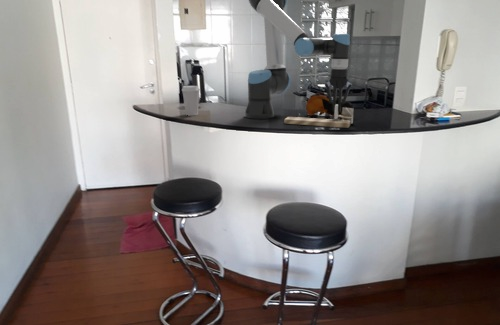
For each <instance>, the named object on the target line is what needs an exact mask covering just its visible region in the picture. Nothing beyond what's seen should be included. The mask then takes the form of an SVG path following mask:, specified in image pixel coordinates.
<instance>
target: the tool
mask: <svg viewBox="0 0 500 325" xmlns="http://www.w3.org/2000/svg"><path fill="white" fill-rule="evenodd" d="M338 98H339V96H336V104H337V105H338ZM332 101H333V99H332ZM342 101H343V98H342ZM354 105H355V104H354V102H349V101H348V100H346V102H345V103H344V104H342V105H341V111H340V112H338V115H341V113H342V109H343V107H344V108H354ZM305 108H306V113H307V114H308V116H310V117H312V116H314V114H318V113H319V114H318V115H319V116H322V115H324V114H328V115H329V116H331V117H334V113H335V112H334V111H333V105H332V104H331V103H329V99H328V95H323V94H321V93H320V92H317V93H314V94H312V95H310V96H309V98H308V100H307V101H306V105H305Z"/></svg>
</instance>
